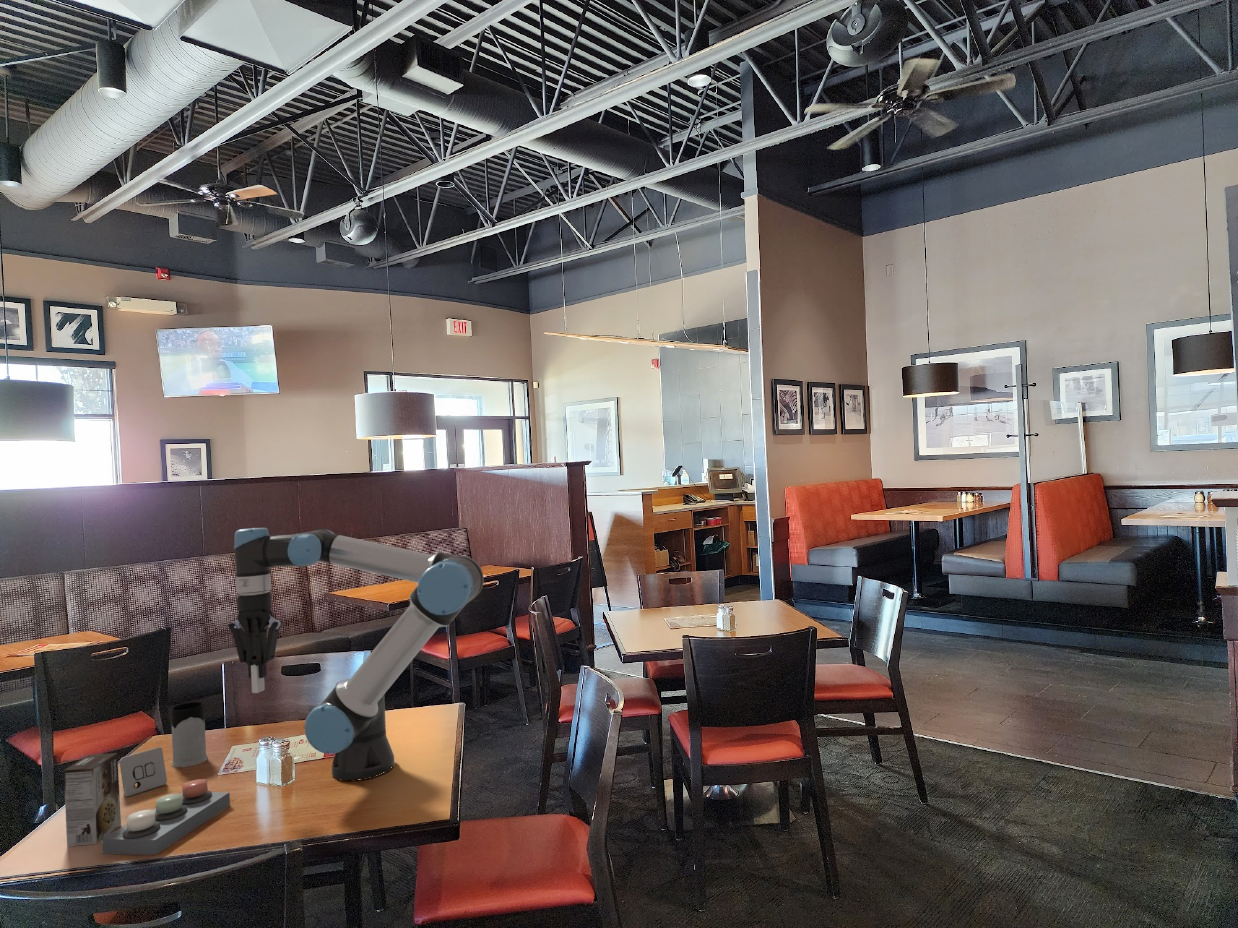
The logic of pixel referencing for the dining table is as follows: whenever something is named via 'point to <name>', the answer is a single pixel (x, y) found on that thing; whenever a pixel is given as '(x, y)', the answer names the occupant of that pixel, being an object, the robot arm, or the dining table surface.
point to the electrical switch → (143, 771)
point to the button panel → (167, 826)
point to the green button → (169, 803)
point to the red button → (194, 788)
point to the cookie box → (92, 799)
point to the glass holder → (188, 735)
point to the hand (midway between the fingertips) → (258, 691)
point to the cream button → (140, 820)
